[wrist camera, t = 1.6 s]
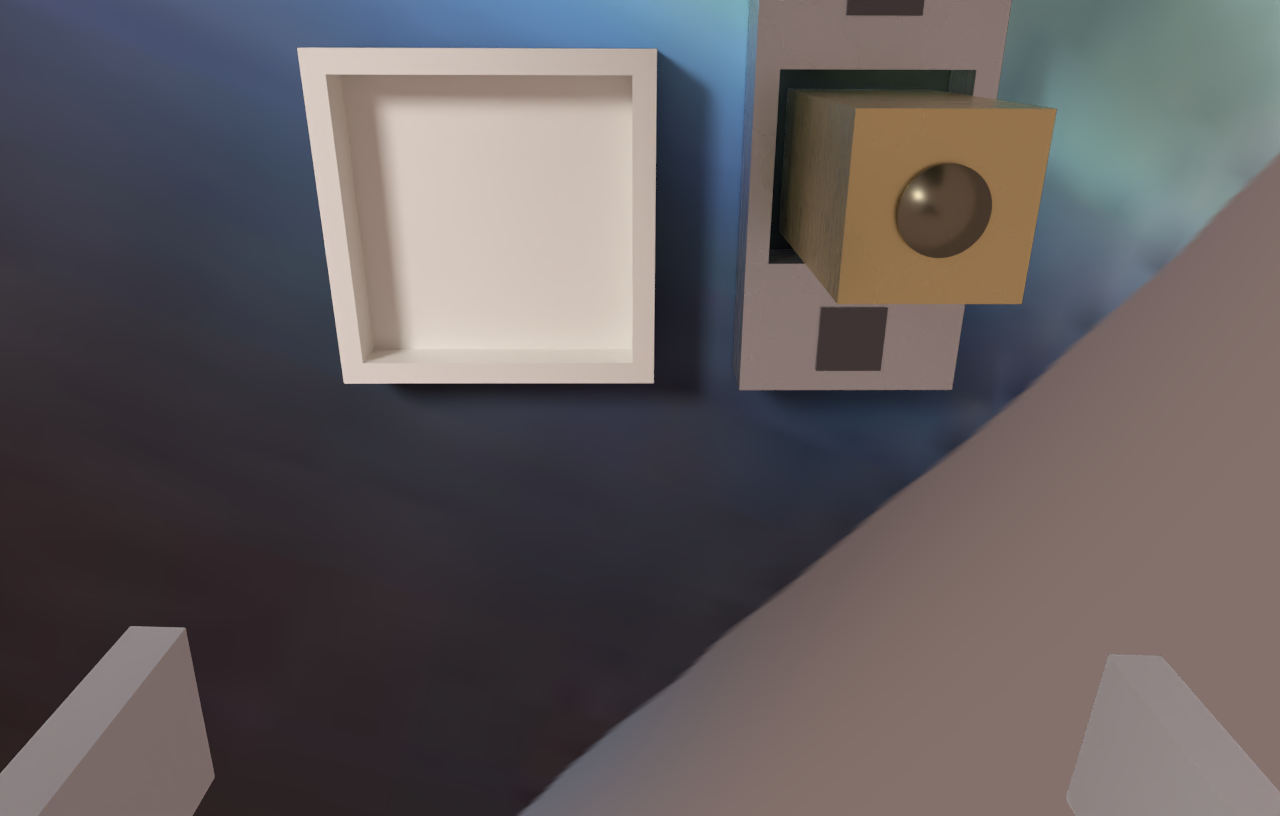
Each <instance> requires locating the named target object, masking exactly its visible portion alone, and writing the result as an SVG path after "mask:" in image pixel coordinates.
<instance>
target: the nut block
mask: <svg viewBox="0 0 1280 816" xmlns="http://www.w3.org/2000/svg"><path fill="white" fill-rule="evenodd" d="M1056 111H1057V109H1055V108H1048V107H1042V106H1035V105H1029V104H1022V103H1016V102H1009V101H1003V100H996V99H990V98H983V97H977V96H970V95H964V94H957V93H951V92H944V91H938V90H931V89H788V92H787V108H786V123H785V138H784V153H783V169H782V184H781V199H780V215H779V231H780V233H781V234H782V235H783V237H784V238H785V239H786V240H787V242H788V243H789V244H790V245H791V247H792V248H793V249H794V250H795V252H796V253H797V254H798V255H799V257H800V258H801V259H802V260H803V262H804V263H805V264H806V265H807V267H808V268H809V269H810V270H811V272H812V273H813V274H814V276H815V277H816V278H817V279H818V281H819V282H820V283H821V284H822V286H823V287H824V288H825V289H826V291H827V292H828V293H829V294H830V296H831V297H832V298H833V299H834V301H835V302H836V303H837V304H1022V300H1023V294H1024V289H1025V283H1026V277H1027V272H1028V266H1029V261H1030V255H1031V250H1032V244H1033V239H1034V233H1035V228H1036V222H1037V216H1038V211H1039V205H1040V200H1041V194H1042V189H1043V183H1044V178H1045V172H1046V167H1047V161H1048V156H1049V150H1050V144H1051V139H1052V133H1053V128H1054V122H1055V117H1056Z"/></svg>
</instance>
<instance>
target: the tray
mask: <svg viewBox="0 0 1280 816" xmlns="http://www.w3.org/2000/svg"><path fill="white" fill-rule="evenodd" d="M297 50H298V58H299V65H300V72H301V79H302V86H303V93H304V101H305V108H306V115H307V122H308V129H309V136H310V144H311V151H312V158H313V165H314V172H315V179H316V187H317V194H318V201H319V208H320V215H321V222H322V230H323V237H324V244H325V251H326V258H327V265H328V272H329V280H330V287H331V294H332V301H333V308H334V315H335V323H336V330H337V337H338V344H339V351H340V358H341V366H342V373H343V380H344V384H362V383H654V313H655V210H656V107H657V49H640V48H297Z"/></svg>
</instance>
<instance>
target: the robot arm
mask: <svg viewBox="0 0 1280 816" xmlns="http://www.w3.org/2000/svg"><path fill="white" fill-rule="evenodd" d="M214 777H215V776H214V771H213V766H212V761H211V756H210V751H209V746H208V740H207V735H206V730H205V725H204V720H203V715H202V710H201V705H200V700H199V695H198V690H197V685H196V680H195V674H194V669H193V664H192V659H191V654H190V649H189V644H188V639H187V634H186V629H185V628H173V627H138V626H130V627H129V628H128V630H127V631H126V632H125V633H124V634H123V635H122V636H121V638H120V639H119V640H118V641H117V642H116V643H115V644H114V645H113V647H112V648H111V649H110V650H109V651H108V652H107V653H106V655H105V656H104V657H103V658H102V659H101V660H100V661H99V662H98V664H97V665H96V666H95V667H94V668H93V669H92V670H91V671H90V673H89V674H88V675H87V676H86V677H85V678H84V679H83V681H82V682H81V683H80V684H79V685H78V686H77V687H76V688H75V690H74V691H73V692H72V693H71V694H70V695H69V696H68V698H67V699H66V700H65V701H64V702H63V703H62V704H61V705H60V707H59V708H58V709H57V710H56V711H55V712H54V713H53V714H52V716H51V717H50V718H49V719H48V720H47V721H46V722H45V724H44V725H43V726H42V727H41V728H40V729H39V730H38V731H37V733H36V734H35V735H34V736H33V737H32V738H31V739H30V741H29V742H28V743H27V744H26V745H25V746H24V747H23V748H22V750H21V751H20V752H19V753H18V754H17V755H16V756H15V757H14V759H13V760H12V761H11V762H10V763H9V764H8V765H7V767H6V768H5V769H4V770H3V771H2V772H1V773H0V816H192V815H193V813H194V812H195V810H196V808H197V807H198V805H199V803H200V801H201V800H202V798H203V796H204V795H205V793H206V791H207V789H208V788H209V786H210V784H211V783H212V781H213V779H214ZM1066 801H1067V802H1068V804H1069V806H1070V808H1071V809H1072V811H1073V813H1074V815H1075V816H1280V792H1279V790H1278V789H1277V788H1276V787H1275V786H1274V785H1273V784H1272V783H1271V781H1270V780H1269V779H1268V778H1267V777H1266V775H1265V774H1264V773H1263V772H1262V771H1261V770H1260V769H1259V767H1258V766H1257V765H1256V764H1255V763H1254V762H1253V761H1252V759H1251V758H1250V757H1249V756H1248V755H1247V754H1246V753H1245V751H1244V750H1243V749H1242V748H1241V747H1240V746H1239V744H1238V743H1237V742H1236V741H1235V740H1234V739H1233V738H1232V737H1231V735H1230V734H1229V733H1228V732H1227V731H1226V729H1225V728H1224V727H1223V726H1222V725H1221V724H1220V723H1219V721H1218V720H1217V719H1216V718H1215V717H1214V716H1213V715H1212V713H1211V712H1210V711H1209V710H1208V709H1207V708H1206V706H1205V705H1204V704H1203V703H1202V702H1201V701H1200V700H1199V698H1198V697H1197V696H1196V695H1195V694H1194V693H1193V691H1191V689H1190V688H1189V687H1188V686H1187V685H1186V683H1185V682H1184V681H1183V680H1182V679H1181V678H1180V677H1179V675H1178V674H1177V673H1176V672H1175V671H1174V670H1173V668H1172V667H1171V666H1170V665H1169V664H1168V663H1167V662H1166V661H1165V659H1164V658H1163V657H1162V656H1155V655H1120V654H1108V658H1107V661H1106V664H1105V668H1104V671H1103V675H1102V678H1101V681H1100V684H1099V688H1098V691H1097V695H1096V698H1095V701H1094V705H1093V708H1092V712H1091V715H1090V718H1089V721H1088V725H1087V728H1086V732H1085V735H1084V738H1083V742H1082V745H1081V749H1080V752H1079V755H1078V758H1077V762H1076V765H1075V769H1074V772H1073V776H1072V779H1071V782H1070V786H1069V789H1068V792H1067V795H1066Z"/></svg>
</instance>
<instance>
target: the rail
mask: <svg viewBox="0 0 1280 816" xmlns="http://www.w3.org/2000/svg"><path fill="white" fill-rule="evenodd" d="M1011 3H1012V0H750V4H749V25H748V47H747V68H746V89H745V110H744V131H743V152H742V174H741V195H740V216H739V237H738V258H737V280H736V301H735V322H734V343H733V364H732V369H733V372H734V375H735V378H736V381H737V384H738V388H739V390H952V386H953V379H954V373H955V367H956V360H957V354H958V347H959V341H960V334H961V328H962V321H963V315H964V308H965V304H837V303H836V302H835V301H834V299H833V298H832V297H831V296H830V294H829V293H828V292H827V291H826V289H825V288H824V287H823V286H822V284H821V283H820V282H819V281H818V279H817V278H816V277H815V276H814V274H813V273H812V272H811V270H810V269H809V268H808V267H807V265H806V264H805V263H804V262H803V260H802V259H801V258H800V257H799V255H798V254H797V253H796V252H795V250H794V249H769V244H770V228H771V212H772V196H773V179H774V163H775V147H776V130H777V114H778V98H779V81H780V69H843V70H951V75H950V82H949V90H948V92H951V93H957V94H964V95H970V96H977V97H983V98H990V99H996V100H997V94H998V87H999V81H1000V74H1001V68H1002V61H1003V55H1004V48H1005V42H1006V35H1007V29H1008V22H1009V16H1010V9H1011Z"/></svg>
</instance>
